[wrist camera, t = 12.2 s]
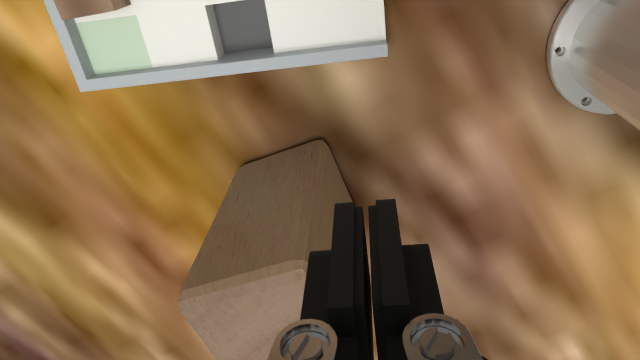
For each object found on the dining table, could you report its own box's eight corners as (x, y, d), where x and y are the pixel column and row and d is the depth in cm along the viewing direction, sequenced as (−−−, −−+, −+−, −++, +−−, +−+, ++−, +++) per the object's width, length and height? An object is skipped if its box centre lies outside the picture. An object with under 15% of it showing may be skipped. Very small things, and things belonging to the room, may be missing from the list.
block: (236, 163, 48) (166, 304, 30) (325, 133, 45) (305, 266, 28) (276, 237, 52) (236, 396, 35) (359, 212, 49) (360, 370, 32)
